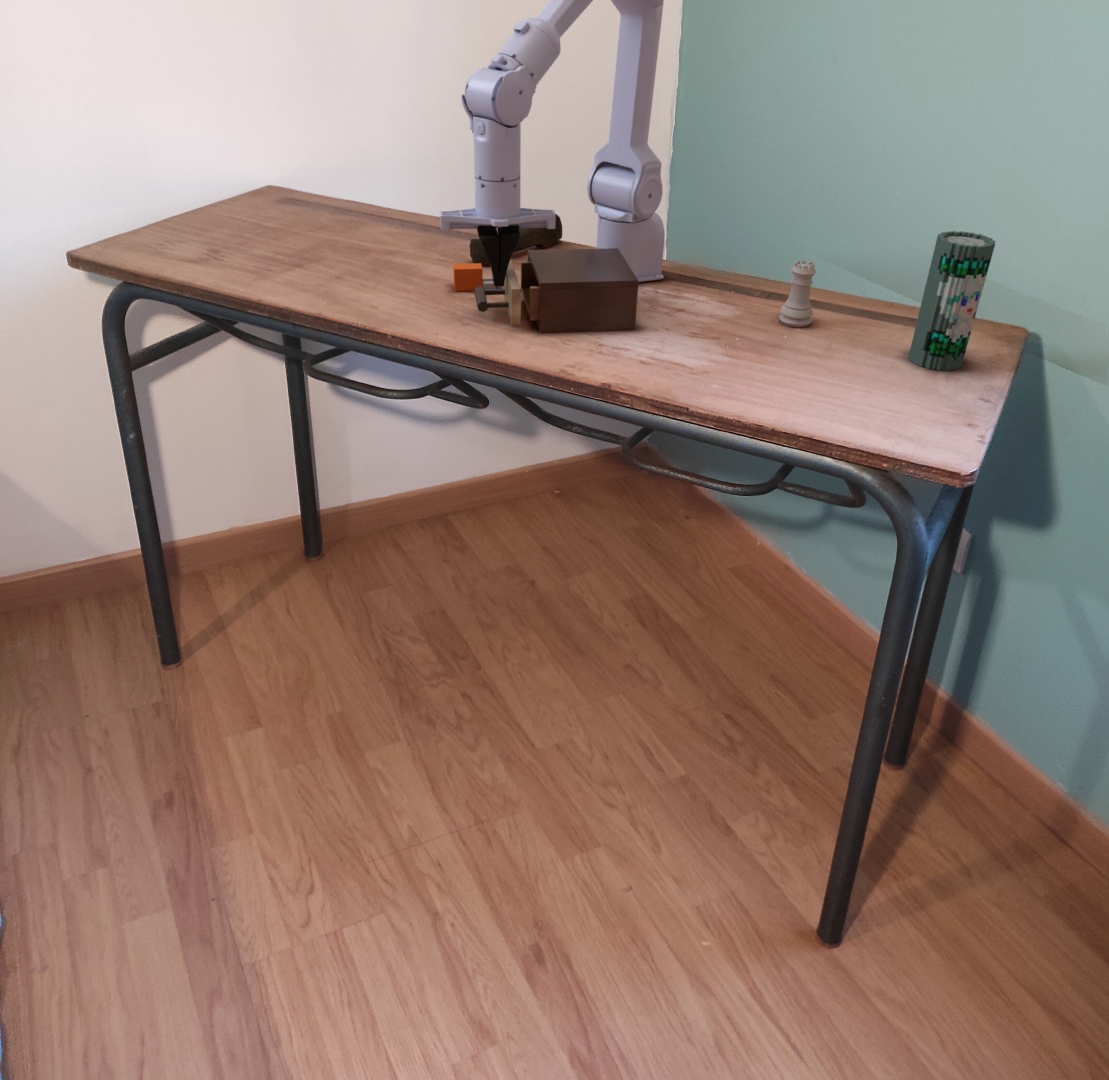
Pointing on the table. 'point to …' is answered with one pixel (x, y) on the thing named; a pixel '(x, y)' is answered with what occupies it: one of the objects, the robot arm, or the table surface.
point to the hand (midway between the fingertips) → (498, 283)
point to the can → (951, 299)
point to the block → (470, 277)
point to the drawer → (514, 294)
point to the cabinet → (584, 290)
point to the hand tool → (522, 241)
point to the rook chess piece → (799, 296)
